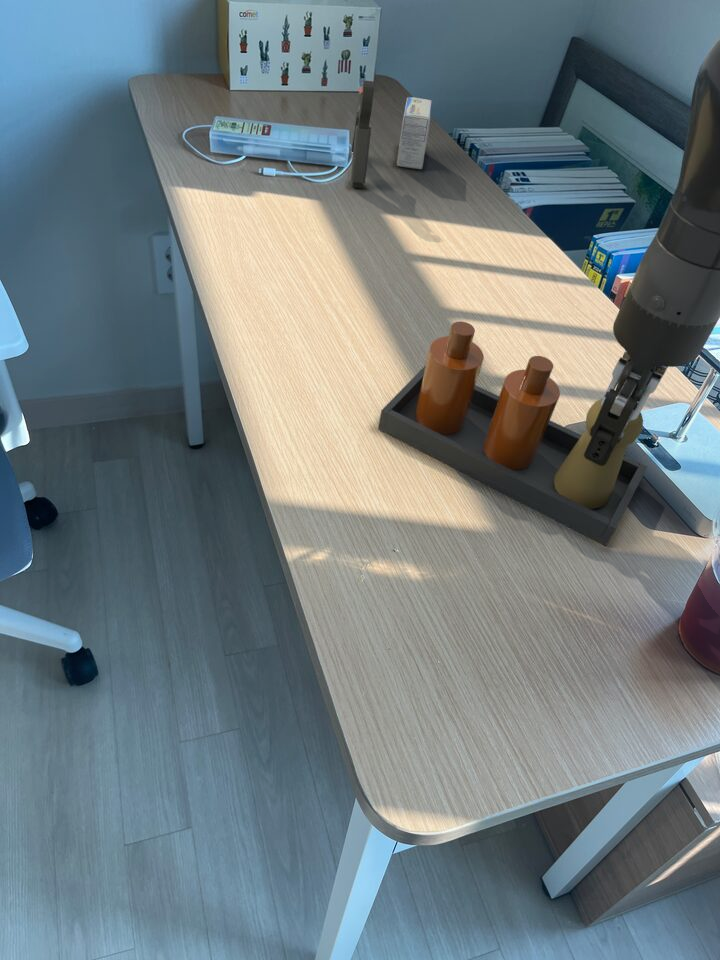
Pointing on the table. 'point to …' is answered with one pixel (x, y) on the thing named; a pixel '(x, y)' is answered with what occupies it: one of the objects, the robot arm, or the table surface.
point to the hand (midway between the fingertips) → (604, 442)
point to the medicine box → (414, 133)
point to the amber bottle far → (449, 380)
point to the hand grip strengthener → (362, 135)
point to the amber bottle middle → (522, 415)
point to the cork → (593, 466)
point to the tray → (521, 484)
